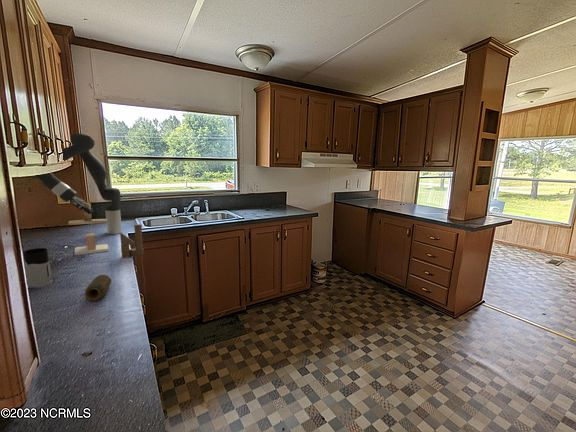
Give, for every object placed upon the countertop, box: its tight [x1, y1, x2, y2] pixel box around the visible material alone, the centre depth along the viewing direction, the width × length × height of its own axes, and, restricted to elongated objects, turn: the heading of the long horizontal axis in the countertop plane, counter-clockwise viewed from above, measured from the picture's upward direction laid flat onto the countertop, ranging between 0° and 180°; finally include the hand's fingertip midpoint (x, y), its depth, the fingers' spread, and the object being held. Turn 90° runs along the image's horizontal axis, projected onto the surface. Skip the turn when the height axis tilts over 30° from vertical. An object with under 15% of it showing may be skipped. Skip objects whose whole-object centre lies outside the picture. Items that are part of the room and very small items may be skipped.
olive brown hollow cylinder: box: [84, 274, 112, 302], centre depth 111 cm, size 15×7×7 cm, turn 25°
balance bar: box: [68, 202, 107, 226], centre depth 162 cm, size 5×18×12 cm, turn 125°
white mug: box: [22, 247, 67, 289], centre depth 118 cm, size 9×14×15 cm, turn 118°
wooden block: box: [119, 223, 145, 259], centre depth 156 cm, size 4×11×18 cm, turn 129°
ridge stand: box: [74, 232, 109, 256], centre depth 163 cm, size 11×16×10 cm
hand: (91, 212), depth 163 cm, fingers closed on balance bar, 3 cm apart
